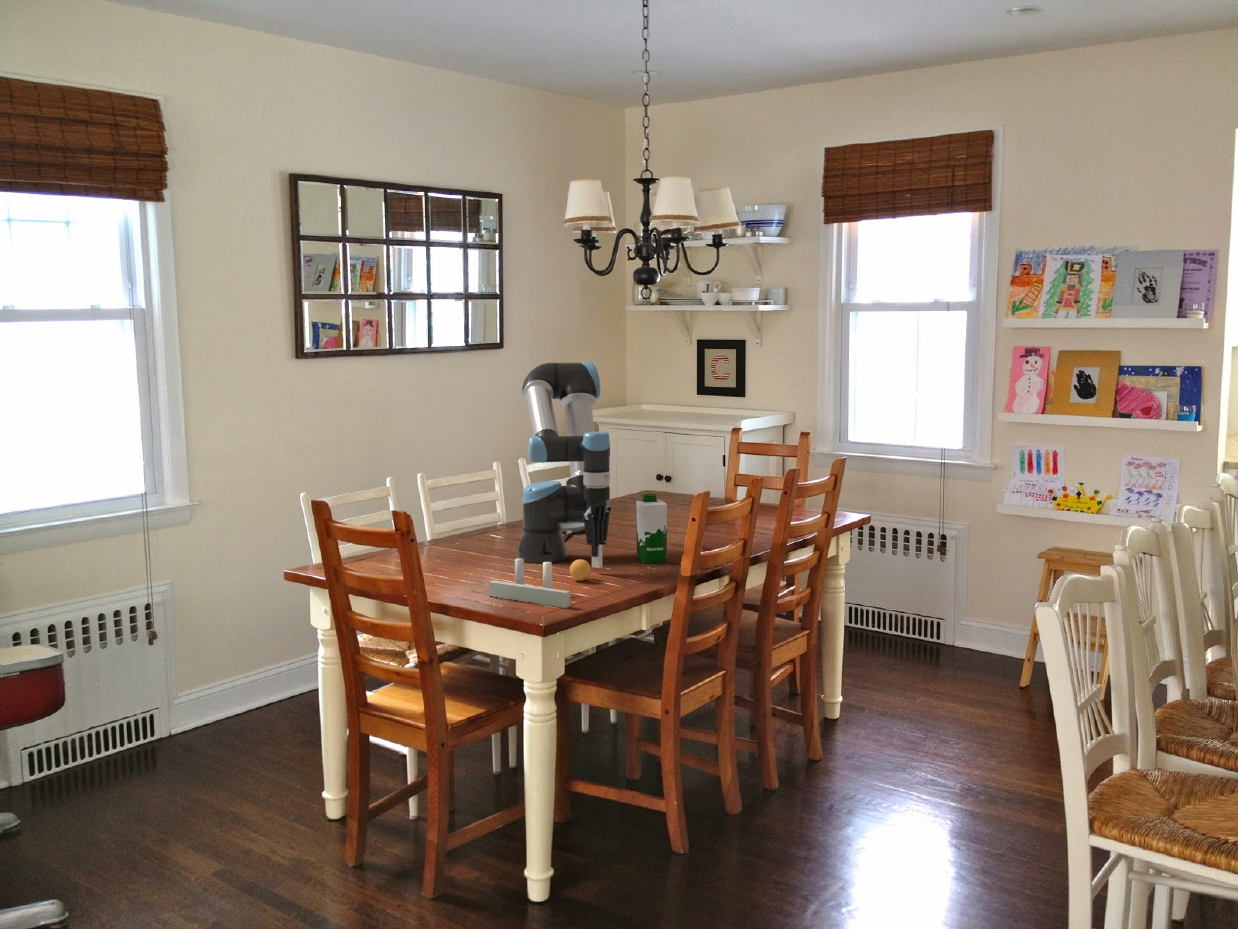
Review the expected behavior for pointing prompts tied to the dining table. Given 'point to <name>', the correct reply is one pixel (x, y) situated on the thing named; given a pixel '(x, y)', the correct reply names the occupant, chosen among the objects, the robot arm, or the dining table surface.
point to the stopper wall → (530, 594)
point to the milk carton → (651, 529)
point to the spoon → (571, 529)
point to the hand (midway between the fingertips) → (597, 567)
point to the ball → (580, 570)
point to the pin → (547, 575)
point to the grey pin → (519, 571)
